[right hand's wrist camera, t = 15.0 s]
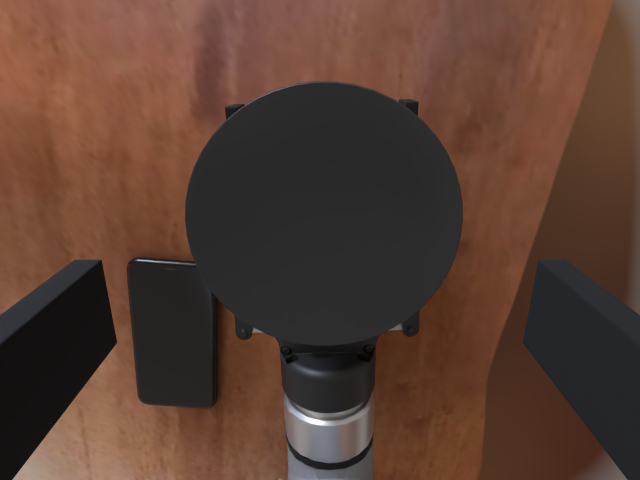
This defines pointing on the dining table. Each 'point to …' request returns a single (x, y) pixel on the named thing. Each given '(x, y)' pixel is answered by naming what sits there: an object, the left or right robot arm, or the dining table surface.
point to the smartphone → (173, 333)
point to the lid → (323, 213)
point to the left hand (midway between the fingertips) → (321, 102)
